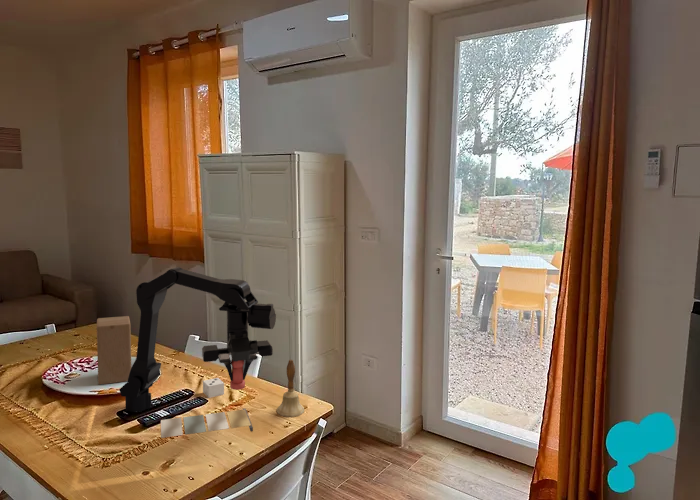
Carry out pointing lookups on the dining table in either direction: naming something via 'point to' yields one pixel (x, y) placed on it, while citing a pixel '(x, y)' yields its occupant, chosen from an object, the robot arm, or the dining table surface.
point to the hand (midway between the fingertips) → (237, 380)
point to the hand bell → (290, 396)
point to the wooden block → (113, 349)
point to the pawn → (237, 375)
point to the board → (198, 425)
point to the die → (213, 387)
